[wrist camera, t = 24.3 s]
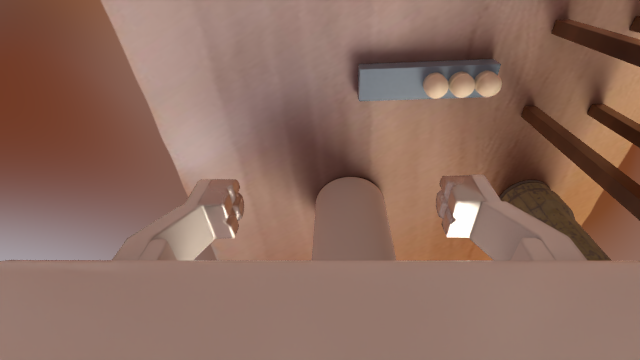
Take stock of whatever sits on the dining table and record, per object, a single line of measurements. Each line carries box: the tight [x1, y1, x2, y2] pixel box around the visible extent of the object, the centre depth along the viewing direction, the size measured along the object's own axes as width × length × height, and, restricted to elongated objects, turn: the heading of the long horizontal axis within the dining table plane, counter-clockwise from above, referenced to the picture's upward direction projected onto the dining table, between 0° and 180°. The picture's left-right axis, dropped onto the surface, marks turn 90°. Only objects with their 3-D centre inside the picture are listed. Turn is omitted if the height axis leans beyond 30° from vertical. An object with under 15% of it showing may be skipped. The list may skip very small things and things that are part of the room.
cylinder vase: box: [312, 177, 396, 261], centre depth 47 cm, size 12×12×25 cm
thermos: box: [499, 180, 612, 261], centre depth 41 cm, size 9×12×35 cm
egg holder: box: [358, 59, 502, 101], centre depth 41 cm, size 18×4×5 cm, turn 93°
